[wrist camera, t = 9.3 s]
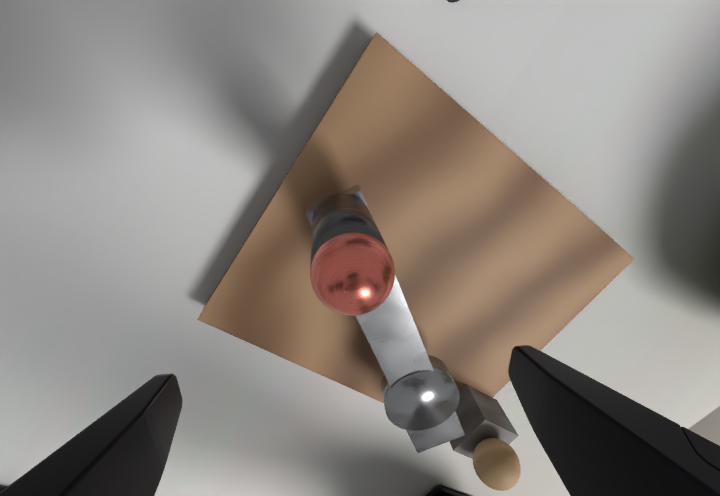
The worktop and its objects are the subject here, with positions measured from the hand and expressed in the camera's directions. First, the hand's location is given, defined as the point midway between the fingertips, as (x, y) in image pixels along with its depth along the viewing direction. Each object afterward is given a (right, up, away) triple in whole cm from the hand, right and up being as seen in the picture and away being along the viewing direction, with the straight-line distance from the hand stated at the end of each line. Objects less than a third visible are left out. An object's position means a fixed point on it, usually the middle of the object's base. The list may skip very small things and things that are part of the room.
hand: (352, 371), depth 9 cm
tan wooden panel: (+4, +1, +13) cm, 14 cm away
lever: (+2, -1, +11) cm, 11 cm away
